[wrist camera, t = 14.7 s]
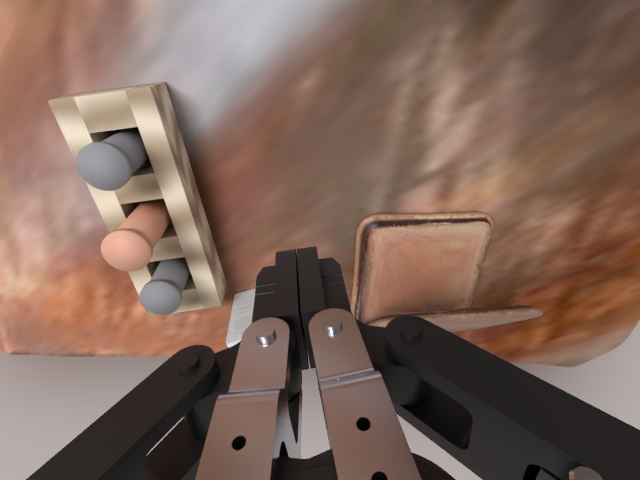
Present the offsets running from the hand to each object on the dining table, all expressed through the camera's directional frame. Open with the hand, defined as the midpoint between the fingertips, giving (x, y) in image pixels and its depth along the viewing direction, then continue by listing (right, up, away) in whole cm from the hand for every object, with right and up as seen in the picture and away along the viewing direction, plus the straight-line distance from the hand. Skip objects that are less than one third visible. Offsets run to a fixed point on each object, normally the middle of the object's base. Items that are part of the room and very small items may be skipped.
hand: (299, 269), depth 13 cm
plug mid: (-19, +5, +31) cm, 37 cm away
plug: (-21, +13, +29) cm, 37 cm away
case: (+16, -4, +42) cm, 45 cm away
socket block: (-20, +6, +33) cm, 39 cm away
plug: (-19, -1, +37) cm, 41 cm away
